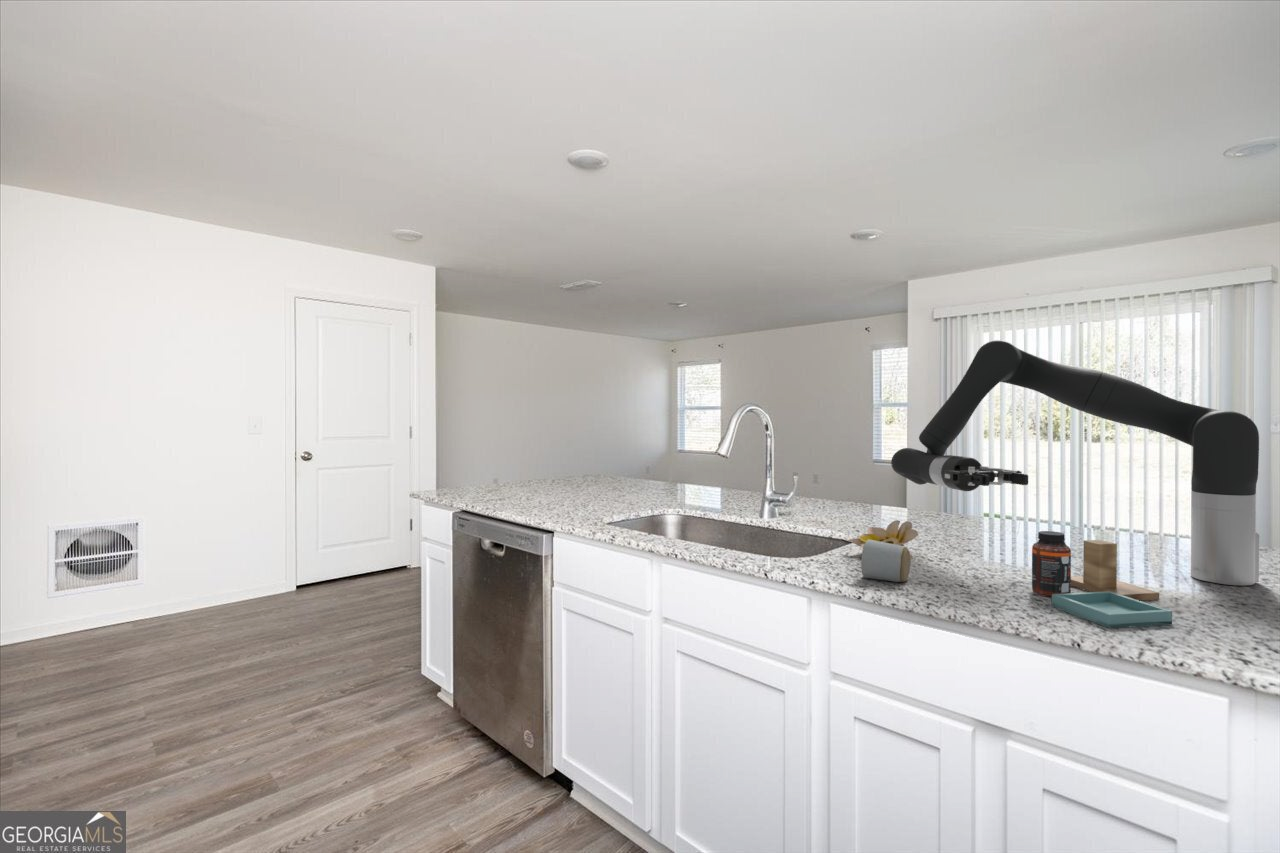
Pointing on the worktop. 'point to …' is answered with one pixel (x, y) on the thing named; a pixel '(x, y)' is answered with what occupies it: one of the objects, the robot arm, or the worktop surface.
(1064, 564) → the supplement bottle
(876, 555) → the ceramic mug
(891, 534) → the decorative flower
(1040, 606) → the worktop surface
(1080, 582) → the wooden stand
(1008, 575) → the worktop surface
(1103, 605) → the tray
